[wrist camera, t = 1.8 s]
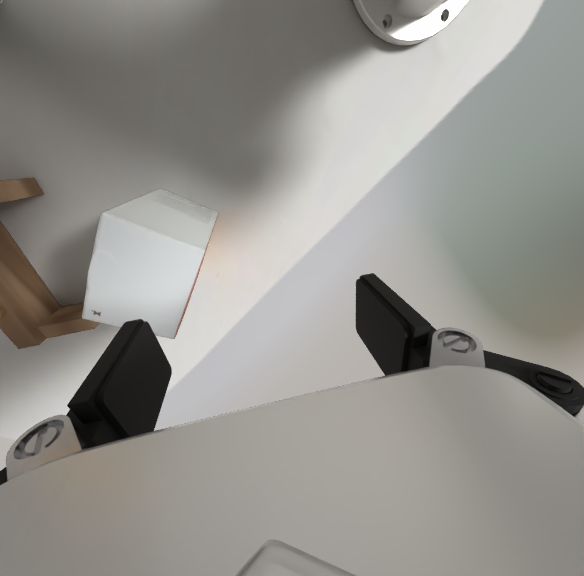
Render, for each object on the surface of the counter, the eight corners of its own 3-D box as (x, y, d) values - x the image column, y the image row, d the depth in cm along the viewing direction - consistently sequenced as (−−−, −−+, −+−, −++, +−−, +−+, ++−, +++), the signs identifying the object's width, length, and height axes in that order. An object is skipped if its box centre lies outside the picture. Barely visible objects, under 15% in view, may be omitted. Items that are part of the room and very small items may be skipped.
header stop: (33, 177, 23) (-28, 184, 18) (111, 308, 31) (83, 341, 25) (-49, 189, 23) (-138, 200, 17) (50, 320, 30) (9, 357, 25)
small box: (198, 273, 31) (174, 342, 19) (142, 254, 28) (77, 320, 17) (220, 211, 28) (207, 250, 16) (159, 185, 26) (96, 209, 14)
